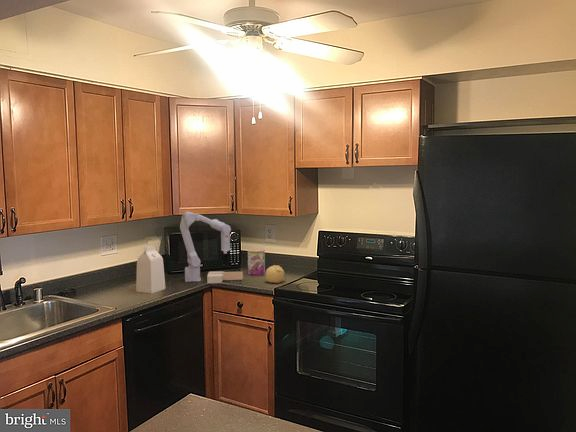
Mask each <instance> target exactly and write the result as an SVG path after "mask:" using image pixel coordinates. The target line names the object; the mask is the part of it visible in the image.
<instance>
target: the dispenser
mask: <svg viewBox="0 0 576 432" xmlns="http://www.w3.org/2000/svg"><path fill="white" fill-rule="evenodd" d="M221 272H225V271H223V270H219V271H208V273H207V278H206V279H207V280H206V281H207V283H206V284H223V280H222V277H223V274H221Z"/></svg>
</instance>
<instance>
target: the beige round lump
mask: <svg viewBox="0 0 576 432" xmlns="http://www.w3.org/2000/svg"><path fill="white" fill-rule="evenodd" d="M264 275H265V280H266V281H267V282H268V283H272V284H280V283H282V282H283V280H284V278H285V271H284V269H283V268H282V266H280V265H276V264H273V265H272V266H269V267H268V268H267V269H265V274H264Z"/></svg>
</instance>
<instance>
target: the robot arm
mask: <svg viewBox="0 0 576 432" xmlns="http://www.w3.org/2000/svg"><path fill="white" fill-rule="evenodd" d="M198 221H199V222H200V221H201V222H203V223H205V224H208V225H209V226H210V227H211V228H212V229H215V230H216V231H219V232H220V241H221V242H220V245H221V246H220V251H221V253H220V255H221V257H222V260H223V263H224V265H227V264H228V262H229V256H230V255H231V251H232V248H231V235H230V233H231V231H232V228H231V226H230V225H229V224H226V223H225V222H224V221H223V222H222V221H221V220H220V221H219V219H218V218H214V219H210V218H208V217H206V216H204V215H201V214H199V213H196V212H195V213H194V212H191V211H185V212H184V213H183V214H182V215H181V220H180V223H179V224H180V225H179V229H180V232H181V236H182V239H183V243H184V246H185V249H186V252H187V255H186V257H187V259H186V260H187V263H188V266H185V268H184V281H185V283H187V282H190V283H191V282H201V280H202V277H201V259H200V258H199V256H198V253H197V251H196V248H195V246H194V242H193V239H192V236H191V233H190V230H189V228H190V226H191V225H192V224H193V223H195V222H198Z"/></svg>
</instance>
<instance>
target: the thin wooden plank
mask: <svg viewBox="0 0 576 432" xmlns="http://www.w3.org/2000/svg"><path fill="white" fill-rule="evenodd" d="M221 274H223V277H222V281H235V280H239V281H240V280H244V273H243V271H224V272H221Z"/></svg>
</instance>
